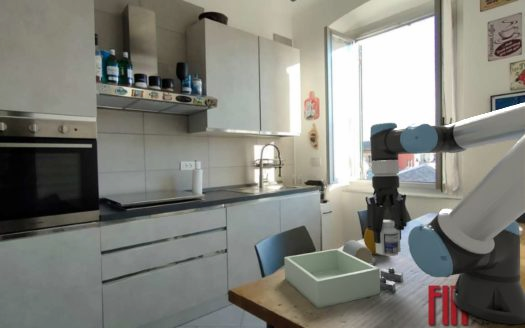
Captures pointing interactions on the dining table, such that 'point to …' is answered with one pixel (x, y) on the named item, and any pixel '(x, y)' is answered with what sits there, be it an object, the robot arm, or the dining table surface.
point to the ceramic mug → (358, 251)
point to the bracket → (389, 275)
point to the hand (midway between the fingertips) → (388, 252)
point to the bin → (331, 277)
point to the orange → (370, 241)
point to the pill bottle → (390, 238)
